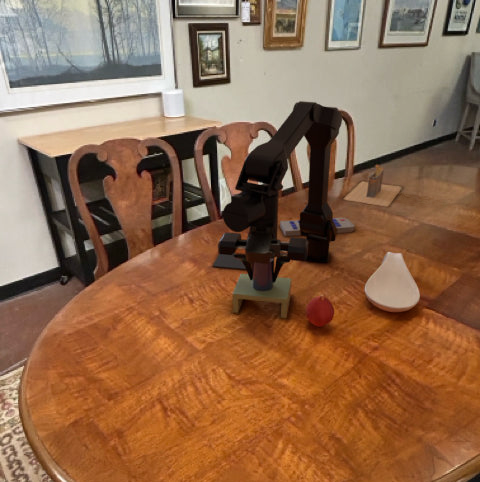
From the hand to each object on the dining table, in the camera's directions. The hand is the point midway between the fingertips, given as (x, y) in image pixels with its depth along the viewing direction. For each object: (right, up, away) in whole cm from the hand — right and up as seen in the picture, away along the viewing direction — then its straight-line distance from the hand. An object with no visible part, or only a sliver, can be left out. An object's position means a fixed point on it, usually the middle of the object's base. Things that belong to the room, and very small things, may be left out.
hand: (262, 280), depth 93 cm
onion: (+12, -10, -4) cm, 16 cm away
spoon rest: (+31, -3, +7) cm, 32 cm away
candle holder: (0, -1, +1) cm, 1 cm away
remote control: (+19, +15, +40) cm, 47 cm away
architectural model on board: (+47, +32, +69) cm, 89 cm away
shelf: (0, -5, +3) cm, 6 cm away
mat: (-7, +5, +22) cm, 24 cm away
